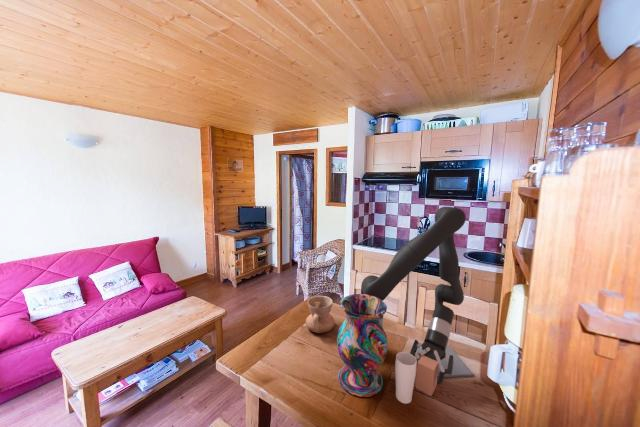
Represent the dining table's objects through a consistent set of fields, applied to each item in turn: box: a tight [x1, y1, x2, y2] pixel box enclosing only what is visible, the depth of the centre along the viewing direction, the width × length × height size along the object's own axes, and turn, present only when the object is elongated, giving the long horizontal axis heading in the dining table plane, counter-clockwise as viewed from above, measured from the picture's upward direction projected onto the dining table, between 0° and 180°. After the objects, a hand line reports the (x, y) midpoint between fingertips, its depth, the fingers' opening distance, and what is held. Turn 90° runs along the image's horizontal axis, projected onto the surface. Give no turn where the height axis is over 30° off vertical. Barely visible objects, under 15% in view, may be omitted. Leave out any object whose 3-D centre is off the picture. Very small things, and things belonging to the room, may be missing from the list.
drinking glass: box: [394, 351, 417, 405], centre depth 86 cm, size 7×7×15 cm
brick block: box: [415, 355, 438, 397], centre depth 91 cm, size 6×6×10 cm
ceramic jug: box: [305, 295, 335, 334], centre depth 126 cm, size 18×14×14 cm
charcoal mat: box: [416, 346, 475, 379], centre depth 104 cm, size 16×16×1 cm
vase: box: [336, 293, 389, 398], centre depth 93 cm, size 18×18×30 cm
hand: (425, 377), depth 90 cm, fingers open, 8 cm apart
